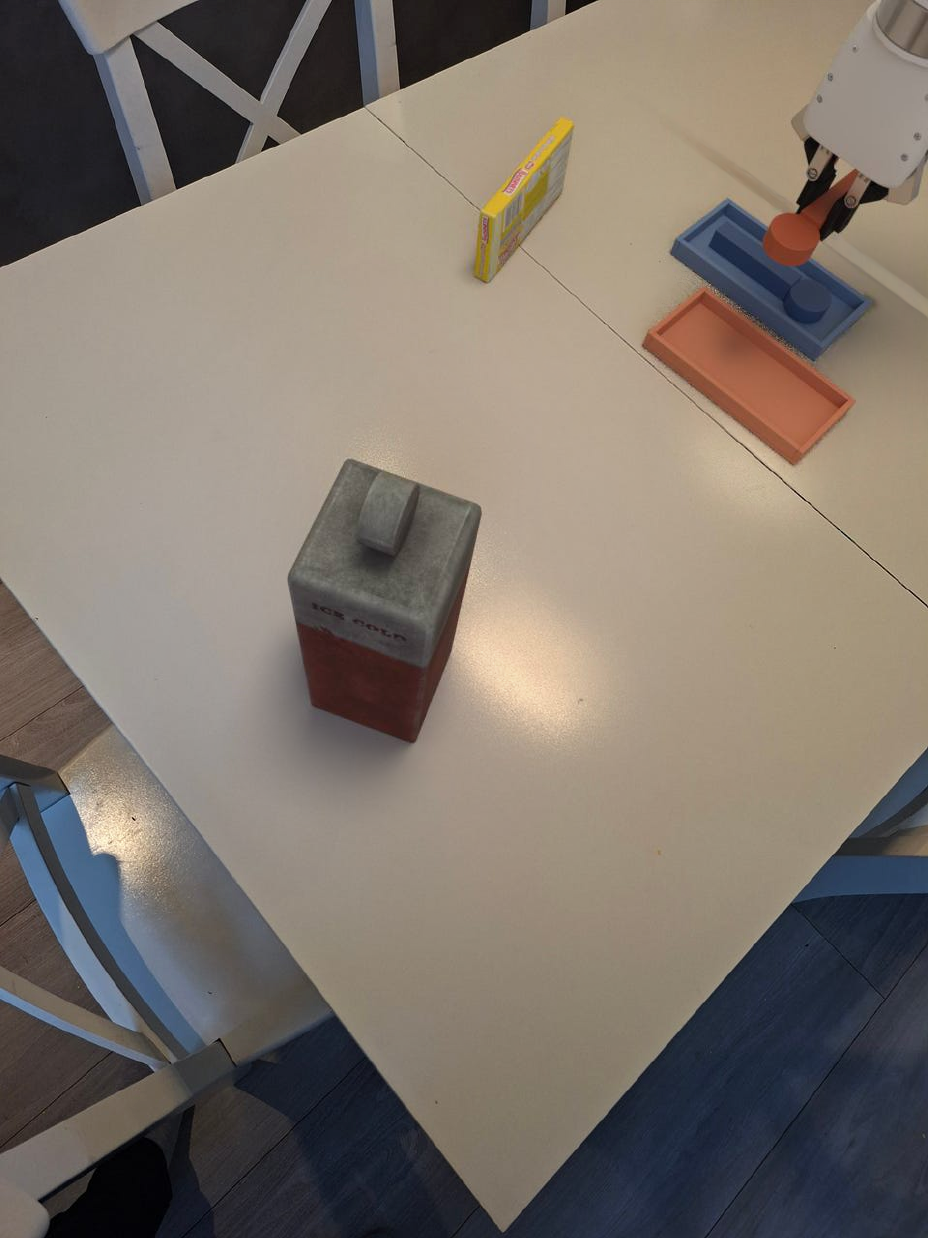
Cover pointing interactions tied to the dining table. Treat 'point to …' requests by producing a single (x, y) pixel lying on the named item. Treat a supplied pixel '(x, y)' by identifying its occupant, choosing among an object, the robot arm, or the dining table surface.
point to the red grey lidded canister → (381, 596)
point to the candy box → (522, 200)
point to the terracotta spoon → (802, 227)
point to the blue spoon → (773, 275)
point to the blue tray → (757, 298)
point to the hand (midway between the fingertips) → (816, 222)
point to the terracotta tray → (748, 374)
